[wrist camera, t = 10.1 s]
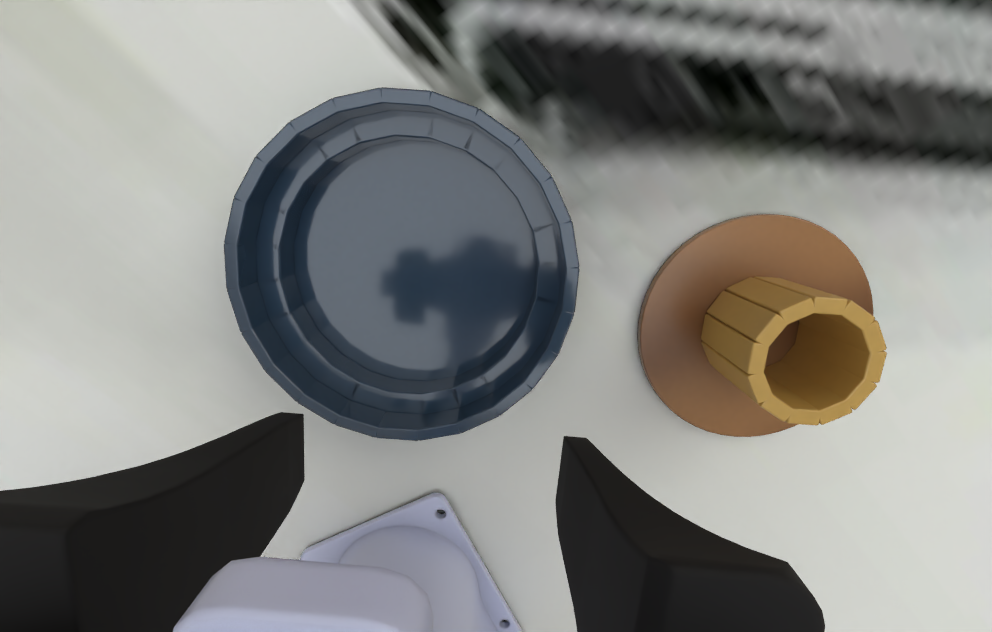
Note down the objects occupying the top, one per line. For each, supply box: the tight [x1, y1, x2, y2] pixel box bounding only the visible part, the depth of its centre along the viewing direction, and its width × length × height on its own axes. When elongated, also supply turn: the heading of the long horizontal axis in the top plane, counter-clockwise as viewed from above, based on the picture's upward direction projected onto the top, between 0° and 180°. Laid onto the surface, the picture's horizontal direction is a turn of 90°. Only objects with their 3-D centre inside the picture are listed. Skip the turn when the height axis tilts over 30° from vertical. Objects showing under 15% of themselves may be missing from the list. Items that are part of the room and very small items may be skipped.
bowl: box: [224, 87, 579, 441], centre depth 20 cm, size 13×13×4 cm
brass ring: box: [701, 276, 887, 425], centre depth 20 cm, size 5×5×4 cm
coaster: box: [638, 214, 873, 437], centre depth 22 cm, size 10×10×1 cm
